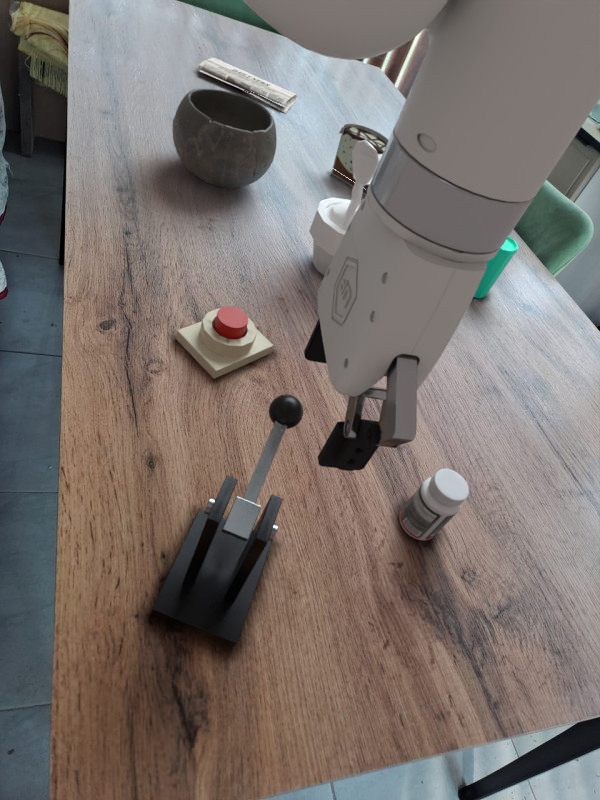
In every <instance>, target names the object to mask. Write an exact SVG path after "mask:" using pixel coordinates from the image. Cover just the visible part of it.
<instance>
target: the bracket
mask: <svg viewBox="0 0 600 800" xmlns="http://www.w3.org/2000/svg"><path fill="white" fill-rule="evenodd" d="M238 481H239V480H238V479H237V478H234V477H232V476H230V475H225V478H224V480H223V482H222V485H221V486H220V489H219V491H218V493H217V496H216V498H215V497H212V496H210V498H209V499H208V501H207V504H206V505H205V509H202V508H198V511H197V512H196V515H195V517H194V519H193V521H192V523H191V525H190V528H189V530H188V532H187V533H186V536H185V538H184V539H183V542H182V544H181V546H180V549H179V551H178V553H177V555H176V557H175V559H174V561H173V563H172V565H171V567H170V570H169V572H168V574H167V575H166V578H165V580H164V582H163V584H162V586H161V588H160V591H159V593H158V594H157V597H156V599H155V601H154V603H153V604H152V605H153V606H152V608H151V610H150V615H151V616H153V617H156V618H158V619H161V620H164V621H165V622H168V623H171V624H173V625H176V626H178V627H181V628H183V629H186V630H188V631H191V632H193V633H196V634H197V635H200V636H203V637H205V638H208V639H211V640H213V641H215V642H218V643H220V644H223V645H224V646H228V647H229V648H233V649H235V648H236V646H237V645H238V643H239V639H240V636H241V634H242V631H243V628H244V625H245V622H246V621H247V617H248V613H249V611H250V607H251V605H252V602H253V599H254V596H255V593H256V590H257V588H258V584H259V581H260V578H261V576H262V572H263V570H264V567H265V563H266V561H267V558H268V555H269V552H270V549H271V546H272V543H273V541H274V539H275V536H276V534H277V532H278V530H279V524H278V523H277V524H276V520H277V517H278V515H279V512H280V509H281V506H282V503H283V499H284V498H282V497H280V496H278V495H275V494H273V493H271V495H270V496H269V499H268V501H267V503H266V504H265V506H264V509H263V510H262V513H261V515H260V517H259V518H258V520H257V521H256V523H255V525H254V527H253V529H252V532H251V534H250V537H249V539H248V540H247V541H243V540H240V539H238V538H236V537H233V536H231V535H228V534H226V533H224V532H222V529H223V526H224V524H225V522H226V519H227V518H223V517H224V515H225V512H226V510H227V507H228V505H229V503H230V500H231V498H232V496H233V493H234V490H235V488H236V486H237V483H238Z"/></svg>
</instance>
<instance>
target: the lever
mask: <svg viewBox="0 0 600 800" xmlns="http://www.w3.org/2000/svg"><path fill="white" fill-rule="evenodd" d="M268 415H269V419H270V421H271V422H272V423H273V425H272V428H271V430H270V433H269V435H268V437H267V440H266V442H265V444H264V446H263V449H262V452H261V454H260V457H259V459H258V461H257V463H256V466H255V468H254V470H253V473H252V475H251V478H250V479H249V482H248V485H247V487H246V489H245V491H244V494H243V497H240V496H237V495H236V496H235V498H234V501H233V503H232V505H231V508H230V510H229V513H228V515H227V517H226V518H225V519H226V522H225V524H224V526H223V529H222V532H224V533H226V534H228V535H231V536H233V537H236V538H238V539H240V540H243V541H247V540H248V539H249V537H250V534H251V532H252V530H254V528H255V525H256V523H257V521H258V520H257V519H258V517H259V515H260V512H261V510H262V505H259V504H256V503H257V500H258V498H259V495H260V494H261V491H262V488H263V486H264V484H265V482H266V478H267V476H268V474H269V472H270V469H271V466H272V464H273V462H274V460H275V457H276V454H277V452H278V450H279V447H280V444H281V442H282V440H283V438H284V435H285V432H286V430H289V429H293V428H295V427H296V426H298V424H300V422H301V421H302V419H303V416H304V407H303V405H302V402H301V401H300V400H299V399H298V398H297V397H296V396H294V395H291V394H280V395H278V396H276V397H275V398H274V399H273V400H272V401H271V403H270V405H269V408H268Z"/></svg>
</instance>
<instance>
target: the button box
mask: <svg viewBox="0 0 600 800" xmlns="http://www.w3.org/2000/svg"><path fill="white" fill-rule="evenodd" d="M221 308H222V307H219V308H215V309H213V310H210V311H207V312H206V314H205V315H204V316H203V318H202V320H201V321H199V322H196V323H192V324H191V325H187V326H185V327H182V328H179V329H177V330H176V334H175V340H176V341H177V342H178V343H179V344H180V345H181V346H182V347H183V348H184V349H185V350H186V351H187V352H188V354H190V355H191V356H192V358H193V359H194V360H195V361H196V362H197V363H198V364H199V365H200V366H201V367H202V368H203V369H204V370H205V371H206V373H207V374H209V375H210V377H211V378H213V379H214V380H215V379H217V378H219V377H222V376H223V375H226V374H228V373H230V372H232V371H234V370H237V369H239V368H241V367H243V366H246V365H248V364H250V363H253V362H254V361H257V360H259V359H261V358H264V357H265V356H268V355H270V354H272V351H273V349H274V344H273V343H271V341H270V340H269V339H268V338H267V337H266V336H265V335H263V334H262V333H261V332H260V331H259V329H258V328H256V325H255V322H254V321H252V320H251V319H250V318H249V317H248V324H247V327H246V330H245V333H244V335H243V336H242V337H241V338H239V339H227V338H225V337H222V336H220V335H219V334H218V333H217V332H216V331H215V329H214V323H215V320H216V316H217V312H218V310H219V309H221Z"/></svg>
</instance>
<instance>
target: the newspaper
mask: <svg viewBox="0 0 600 800" xmlns="http://www.w3.org/2000/svg"><path fill="white" fill-rule="evenodd" d="M198 69H199V70H198V72H200V73H202V74H205V75H207V76H209V77H211V78H214V79H216V80H218V81H221V82H223V83H225V84H228V85H230V86H233V87H234V88H237V89H240V90H242V91H244V90H246V91H248V92H250V93H248V92H247V93H248V94H250V95H251V96H253V97H255V98H256V99H259V100H261V101H262V102H264V103H266V104H267V105H270V106H271V107H273V108H275V109H276V110H278V111H280V112H283V113H284V114H287V113H288V111H289V110H290V108H291V107H292V106H293V105H294V104H295V102H296V99H297V97H298V94H297V93H294V92H292V91H290V90H288V89H285V88H283V87H281V86H278V85H276V84H274V83H272V82H270V81H267V80H265V79H263V78H261V77H259V76H257V75H254V74H252V73H250V72H247V71H246V70H243V69H242V68H240V67H236V66H234V65H232V64H229V63H228V62H225V61H223V60H221V59H218V58H216V57H211V58H207V59H205V60H203V61H201V62H200V63H199V64H198ZM246 91H245V92H246ZM251 91H252V92H251ZM253 92H254V93H253ZM258 94H259V95H258ZM296 94H297V95H296ZM260 95H262V96H264V97H266V98H268V99H270V100H272V101H274V102H277V103H280V104H282V105H284V106H285V107H283V106H280V105H278V104H276V103H274V102H272V101H270V100H268V99H266V98H264V97H262V96H260Z"/></svg>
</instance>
